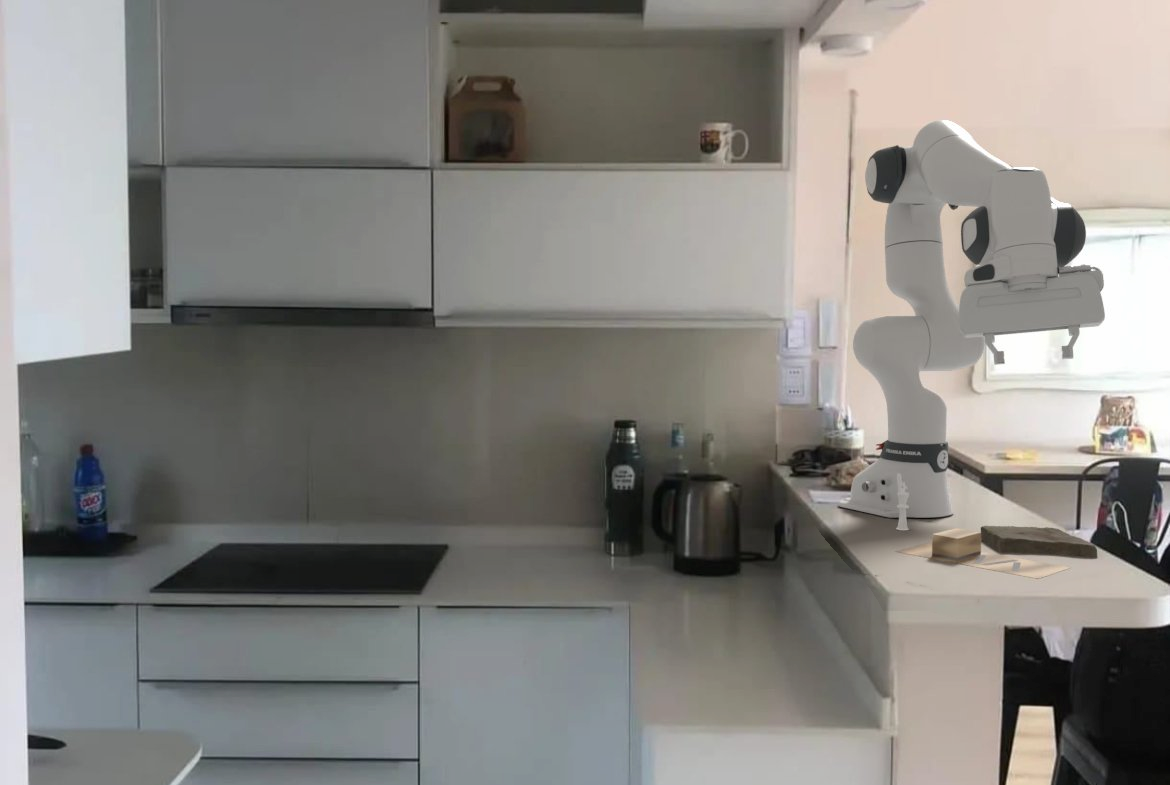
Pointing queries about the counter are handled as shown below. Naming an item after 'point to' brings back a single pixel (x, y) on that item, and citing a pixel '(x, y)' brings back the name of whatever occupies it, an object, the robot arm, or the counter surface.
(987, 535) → the marble piece
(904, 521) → the chess piece
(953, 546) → the block
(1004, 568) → the board
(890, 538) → the counter surface
